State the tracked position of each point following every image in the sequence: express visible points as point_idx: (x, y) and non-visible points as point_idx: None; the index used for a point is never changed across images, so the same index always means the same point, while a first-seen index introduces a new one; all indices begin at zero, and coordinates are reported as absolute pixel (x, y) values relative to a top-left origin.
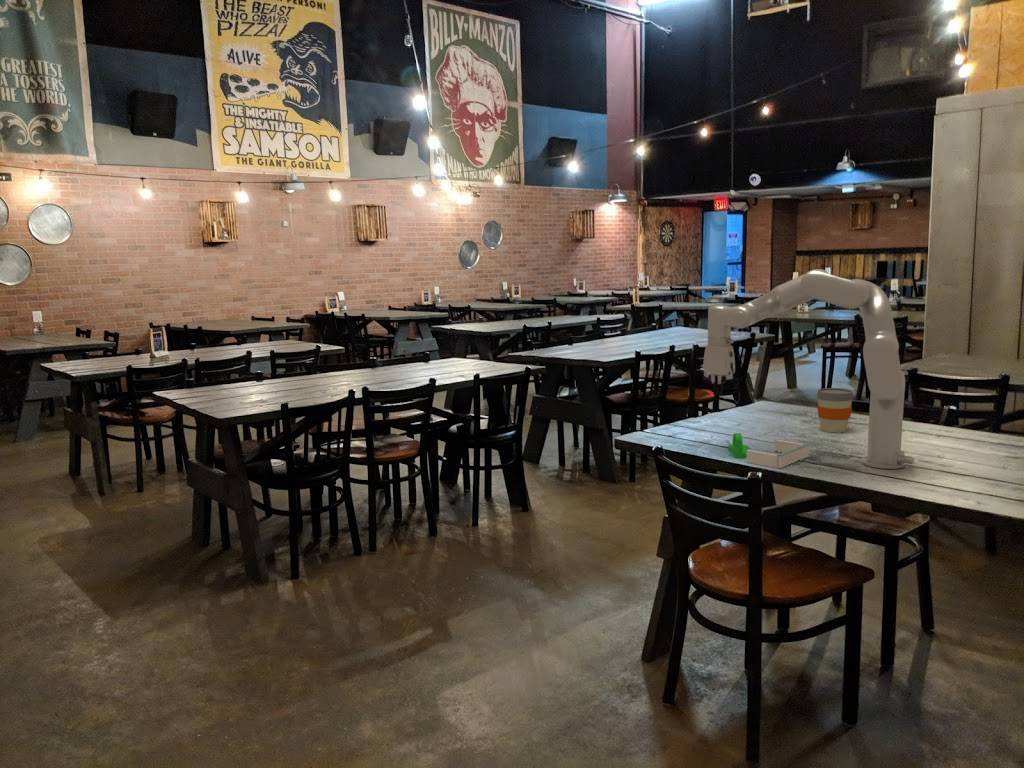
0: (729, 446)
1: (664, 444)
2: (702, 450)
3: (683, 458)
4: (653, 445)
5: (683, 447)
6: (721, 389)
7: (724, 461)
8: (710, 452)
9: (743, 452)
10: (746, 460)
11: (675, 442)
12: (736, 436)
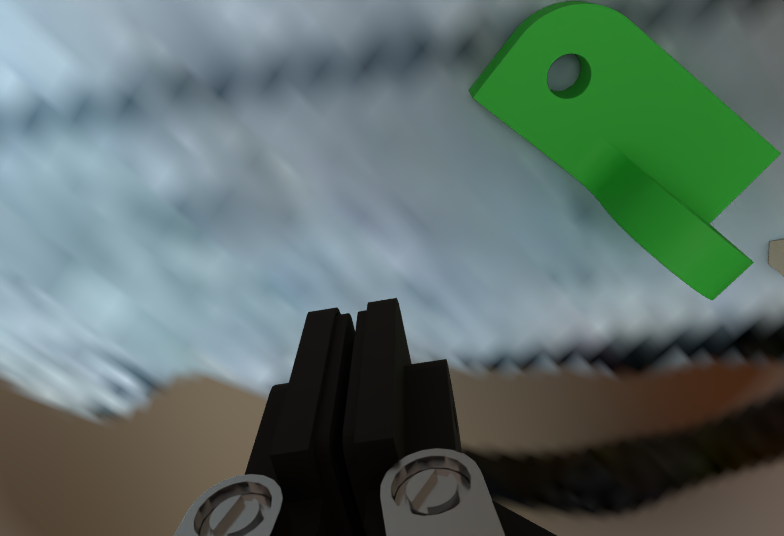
0: (501, 119)
1: (98, 327)
2: (370, 255)
3: None
4: (87, 390)
5: (232, 291)
6: (459, 442)
7: (646, 342)
8: (442, 253)
9: (705, 202)
10: (774, 268)
11: (85, 237)
12: (713, 293)
